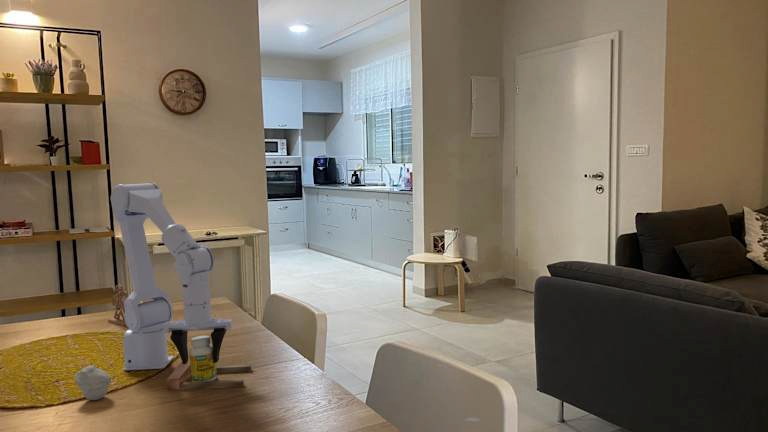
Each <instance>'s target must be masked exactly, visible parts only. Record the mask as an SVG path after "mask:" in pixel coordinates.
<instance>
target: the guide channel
mask: <svg viewBox="0 0 768 432" xmlns="http://www.w3.org/2000/svg"><path fill="white" fill-rule="evenodd" d="M251 371H252V364H238V365H237V364H236V365H216V372H217V374H221V373H222V374H226V373H247V372H251ZM191 376H192V374H191V365H190V361H188V362H187V363H186V364H183V363H182V361H181V362H180V363H179V365H177V366H176V368H175V369H174V370H173V371H172V372H171V374H170V375H169V376H168V377H167V379H166V386H167V391H185V390H186V391H187V390H206V389H209V390H210V389H226V388H228V389H229V388H230V387H231V388H243V387H244V386H245V385H244V384H245V379H227V380H226V379H225V380H223V379H221V380H213V381H200V382H193V381H187V380H188V379H189V378H190V377H191Z"/></svg>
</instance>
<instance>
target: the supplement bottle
mask: <svg viewBox="0 0 768 432" xmlns="http://www.w3.org/2000/svg"><path fill="white" fill-rule="evenodd" d="M190 343H191V344H190V345H191V346H192V347H191V348H190V349H189V350H188V356H189V362H190V365H191V382H200V381H216V379H217V374H218V373H217V372H216V366H217V363H214V362H213V345H212V344H211V336H209V335H199V336H195V337H193V338H191V339H190Z"/></svg>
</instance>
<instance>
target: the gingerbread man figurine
mask: <svg viewBox="0 0 768 432" xmlns="http://www.w3.org/2000/svg"><path fill="white" fill-rule="evenodd" d="M114 287H115V288H114V292H115V294H114V295H113V296H112V298H111V304H112V306H116V308H115V311H114V316H113V317H111V318H108V319H107V322H108V323H110V324H114V325H117V326H123V327H127V325H126V323H125V318H124V314H125V306H124V302H125V300H126V299H127V298H128V297H129V295H128V292H127V291H124V288H123V286H122V285H121V284H116V285H115V286H114ZM123 297H124V298H125V299H124V300H123ZM115 298H117V299H115ZM119 309H120V310H119Z"/></svg>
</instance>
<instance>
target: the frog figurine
mask: <svg viewBox="0 0 768 432" xmlns="http://www.w3.org/2000/svg"><path fill="white" fill-rule="evenodd" d="M74 379H75V383H76V386H77V387H78V388H79V390H80V391H81V393H82V395H83V396H84V398H86V399H87V400H91V401H97V400H100V399H102V398H104V397H105V396H106V395H107V393H108V391H109V387H110V385H111V383H112V378H111V374H109V373H107V372H106V371H105V370H103V369H101V368H97V366H94V365H87V366H85V367H83V368H82V369H81V370H80V371H77V373H75V375H74Z"/></svg>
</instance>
